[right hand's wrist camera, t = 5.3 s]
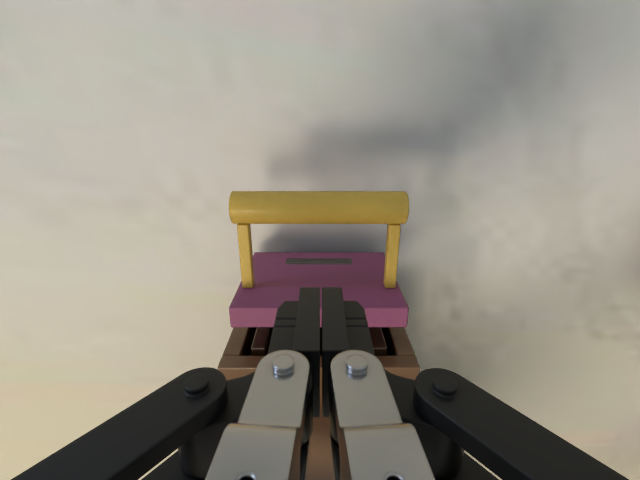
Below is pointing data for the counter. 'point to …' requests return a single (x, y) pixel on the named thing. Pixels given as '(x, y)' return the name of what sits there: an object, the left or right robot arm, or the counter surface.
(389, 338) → the cabinet
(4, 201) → the counter surface
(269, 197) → the drawer
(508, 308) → the counter surface
